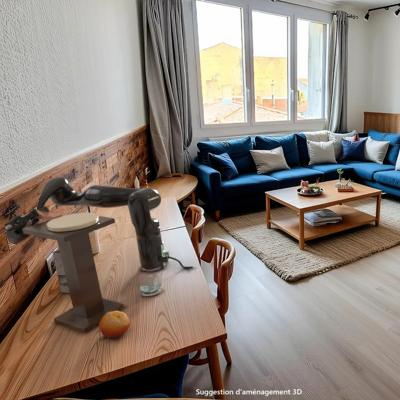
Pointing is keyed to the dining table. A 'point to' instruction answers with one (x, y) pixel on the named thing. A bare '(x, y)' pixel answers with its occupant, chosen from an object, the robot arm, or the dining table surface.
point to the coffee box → (60, 271)
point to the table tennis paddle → (68, 220)
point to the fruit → (114, 324)
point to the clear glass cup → (150, 287)
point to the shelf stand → (79, 275)
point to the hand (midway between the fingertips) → (41, 210)
